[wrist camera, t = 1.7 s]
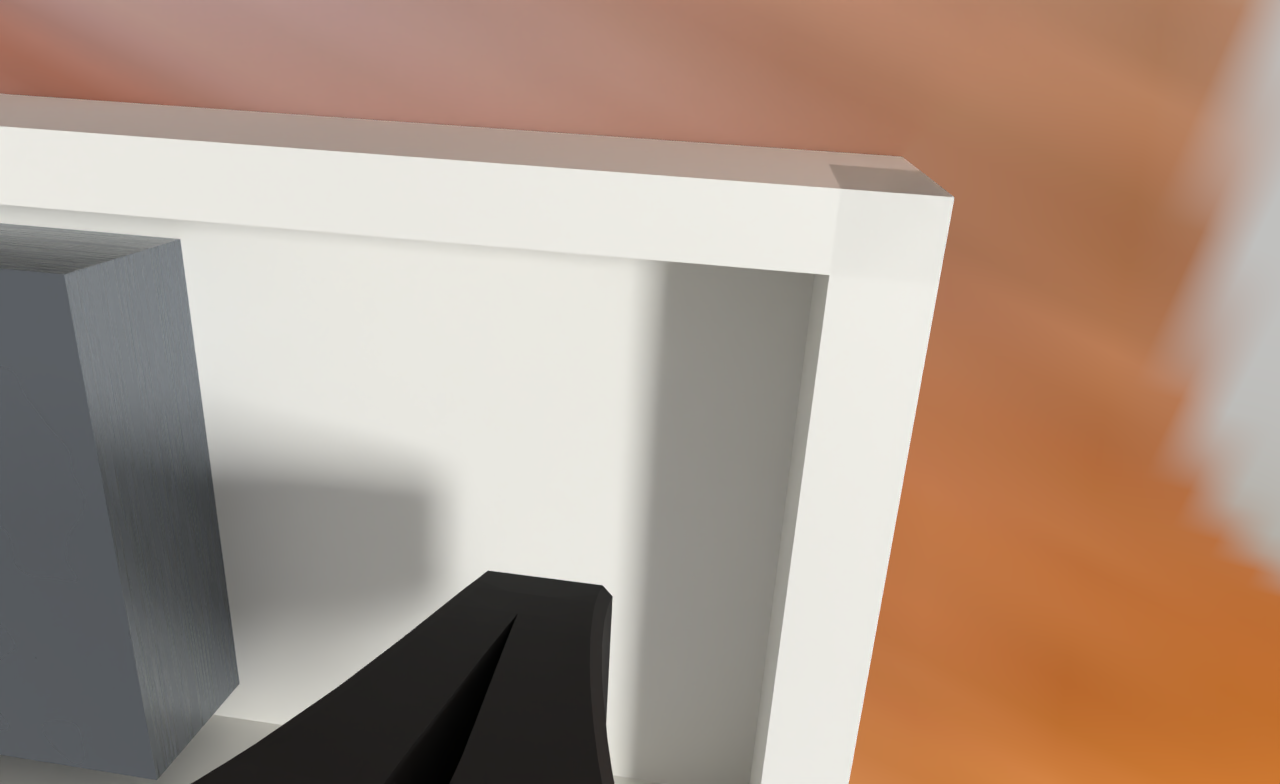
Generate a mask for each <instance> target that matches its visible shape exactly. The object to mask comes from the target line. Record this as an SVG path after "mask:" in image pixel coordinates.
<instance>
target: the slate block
mask: <svg viewBox="0 0 1280 784" xmlns="http://www.w3.org/2000/svg"><path fill="white" fill-rule="evenodd" d="M239 684H240V683H239V675H238V668H237V660H236V653H235V645H234V638H233V630H232V623H231V615H230V608H229V600H228V593H227V585H226V578H225V570H224V563H223V555H222V548H221V540H220V533H219V525H218V518H217V510H216V503H215V495H214V488H213V480H212V473H211V465H210V458H209V450H208V443H207V435H206V428H205V420H204V413H203V405H202V398H201V391H200V383H199V376H198V368H197V361H196V353H195V346H194V338H193V331H192V323H191V316H190V308H189V301H188V293H187V286H186V278H185V271H184V263H183V256H182V248H181V241H180V239H174V238H163V237H151V236H140V235H129V234H117V233H106V232H95V231H83V230H72V229H60V228H49V227H38V226H26V225H15V224H4V223H0V755H4V756H11V757H17V758H23V759H29V760H35V761H41V762H48V763H54V764H60V765H66V766H72V767H78V768H85V769H91V770H97V771H103V772H109V773H116V774H122V775H128V776H134V777H140V778H146V779H153V780H158V779H159V777H160V776H161V775H162V774H163V773H164V771H165V770H166V769H167V768H168V767H169V766H170V764H171V763H172V762H173V761H174V760H175V759H176V757H177V756H178V755H179V754H180V753H181V752H182V750H183V749H184V748H185V747H186V746H187V745H188V743H189V742H190V741H191V740H192V739H193V738H194V736H195V735H196V734H197V733H198V732H199V731H200V729H201V728H202V727H203V726H204V725H205V724H206V722H207V721H208V720H209V719H210V718H211V716H212V715H213V714H214V713H215V712H216V711H217V709H218V708H219V707H220V706H221V705H222V704H223V702H224V701H225V700H226V699H227V698H228V697H229V695H230V694H231V693H232V692H233V691H234V690H235V688H236V687H237V686H238V685H239Z"/></svg>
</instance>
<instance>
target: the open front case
mask: <svg viewBox="0 0 1280 784" xmlns="http://www.w3.org/2000/svg"><path fill="white" fill-rule="evenodd" d="M953 202H954V197H953V196H952V195H951V194H949V193H948V192H947V191H946V190H944V189H943V188H942V187H940V186H939V185H938V184H937V183H935V182H934V181H933V180H931V179H930V178H929V177H928V176H926V175H925V174H924V173H922V172H921V171H920V170H919V169H917V168H916V167H915V166H913V165H912V164H911V163H910V162H908V161H907V160H906V159H904V158H903V157H899V156H885V155H871V154H856V153H842V152H828V151H814V150H799V149H785V148H771V147H756V146H742V145H728V144H713V143H699V142H685V141H670V140H656V139H642V138H627V137H613V136H599V135H585V134H570V133H556V132H542V131H527V130H513V129H499V128H484V127H470V126H456V125H441V124H427V123H413V122H399V121H384V120H370V119H356V118H341V117H327V116H313V115H298V114H284V113H270V112H255V111H241V110H227V109H212V108H198V107H184V106H170V105H155V104H141V103H127V102H112V101H98V100H84V99H69V98H55V97H41V96H26V95H12V94H0V223H4V224H15V225H26V226H38V227H49V228H60V229H72V230H83V231H95V232H106V233H117V234H129V235H140V236H151V237H163V238H174V239H180V241H181V248H182V256H183V263H184V271H185V278H186V286H187V293H188V301H189V308H190V316H191V323H192V331H193V338H194V346H195V353H196V361H197V368H198V376H199V383H200V391H201V398H202V405H203V413H204V420H205V428H206V435H207V443H208V450H209V458H210V465H211V473H212V480H213V488H214V495H215V503H216V510H217V518H218V525H219V533H220V540H221V548H222V555H223V563H224V570H225V578H226V585H227V593H228V600H229V608H230V615H231V623H232V630H233V638H234V645H235V653H236V660H237V668H238V675H239V683H240V684H239V685H238V686H237V687H236V688H235V690H234V691H233V692H232V693H231V694H230V695H229V697H228V698H227V699H226V700H225V701H224V702H223V704H222V705H221V706H220V707H219V708H218V709H217V711H216V712H215V713H214V714H213V715H212V716H211V718H210V719H209V720H208V721H207V722H206V724H205V725H204V726H203V727H202V728H201V729H200V731H199V732H198V733H197V734H196V735H195V736H194V738H193V739H192V740H191V741H190V742H189V743H188V745H187V746H186V747H185V748H184V749H183V750H182V752H181V753H180V754H179V755H178V756H177V757H176V759H175V760H174V761H173V762H172V763H171V764H170V766H169V767H168V768H167V769H166V770H165V771H164V773H163V774H162V775H161V776H160V777H159V779H158V780H153V779H146V778H140V777H134V776H128V775H122V774H116V773H109V772H103V771H97V770H91V769H85V768H78V767H72V766H66V765H60V764H54V763H48V762H41V761H35V760H29V759H23V758H17V757H11V756H4V755H0V784H191V783H193V782H194V781H196V780H198V779H199V778H201V777H203V776H204V775H206V774H208V773H209V772H211V771H213V770H214V769H216V768H217V767H219V766H221V765H222V764H224V763H226V762H227V761H229V760H230V759H232V758H234V757H235V756H237V755H238V754H240V753H241V752H243V751H245V750H246V749H248V748H249V747H251V746H252V745H254V744H256V743H257V742H259V741H260V740H261V739H263V738H264V737H266V736H267V735H269V734H270V733H272V732H273V731H275V730H276V729H277V728H279V727H280V726H282V725H283V724H285V723H286V722H288V721H289V720H290V719H292V718H293V717H295V716H296V715H298V714H299V713H301V712H302V711H304V710H305V709H306V708H308V707H309V706H311V705H312V704H314V703H315V702H317V701H318V700H320V699H321V698H322V697H324V696H325V695H327V694H328V693H330V692H331V691H333V690H334V689H335V688H337V687H338V686H339V685H341V684H342V683H343V682H345V681H346V680H347V679H349V678H350V677H351V676H353V675H354V674H355V673H357V672H358V671H359V670H361V669H362V668H363V667H365V666H366V665H367V664H369V663H370V662H371V661H373V660H374V659H375V658H376V657H378V656H379V655H380V654H382V653H383V652H384V651H386V650H387V649H388V648H390V647H391V646H392V645H394V644H395V643H396V642H398V641H399V640H400V639H401V638H403V637H404V636H405V635H406V634H408V633H409V632H410V631H411V630H413V629H414V628H415V627H416V626H418V625H419V624H420V623H422V622H423V621H424V620H425V619H427V618H428V617H429V616H430V615H432V614H433V613H434V612H435V611H437V610H438V609H439V608H440V607H442V606H443V605H444V604H445V603H447V602H448V601H449V600H450V599H452V598H453V597H454V596H455V595H457V594H458V593H459V592H460V591H462V590H463V589H464V588H466V587H467V586H468V585H470V584H471V583H472V582H474V581H475V580H476V579H478V578H479V577H480V576H481V575H483V574H484V573H485V572H487V571H496V572H504V573H512V574H519V575H527V576H535V577H543V578H550V579H558V580H566V581H574V582H581V583H589V584H597V585H603V586H604V587H605V588H606V590H607V591H608V592H609V593H610V594H611V595H612V596H613V600H612V619H611V639H610V659H609V679H608V699H607V719H606V728H607V738H608V746H609V753H610V759H611V766H612V773H613V778H614V784H849V778H850V773H851V767H852V761H853V756H854V750H855V745H856V739H857V734H858V728H859V723H860V717H861V712H862V706H863V700H864V695H865V689H866V684H867V678H868V673H869V667H870V662H871V656H872V651H873V645H874V640H875V634H876V628H877V623H878V617H879V612H880V606H881V601H882V595H883V590H884V584H885V579H886V573H887V568H888V562H889V556H890V551H891V545H892V540H893V534H894V529H895V523H896V518H897V512H898V507H899V501H900V496H901V490H902V484H903V479H904V473H905V468H906V462H907V457H908V451H909V446H910V440H911V435H912V429H913V424H914V418H915V412H916V407H917V401H918V396H919V390H920V385H921V379H922V374H923V368H924V363H925V357H926V352H927V346H928V340H929V335H930V329H931V324H932V318H933V313H934V307H935V302H936V296H937V291H938V285H939V280H940V274H941V268H942V263H943V257H944V252H945V246H946V241H947V235H948V230H949V224H950V219H951V213H952V208H953Z"/></svg>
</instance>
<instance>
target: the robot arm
mask: <svg viewBox="0 0 1280 784" xmlns="http://www.w3.org/2000/svg"><path fill="white" fill-rule="evenodd" d="M612 600H613V596H612V595H611V594H610V593H609V592H608V591H607V590H606V588H605V587H604V586H603V585H597V584H589V583H581V582H574V581H566V580H558V579H550V578H543V577H535V576H527V575H519V574H512V573H504V572H496V571H487V572H485V573H484V574H483V575H481V576H480V577H479V578H478V579H476V580H475V581H474V582H472V583H471V584H470V585H468V586H467V587H466V588H464V589H463V590H462V591H460V592H459V593H458V594H457V595H455V596H454V597H453V598H452V599H450V600H449V601H448V602H447V603H445V604H444V605H443V606H442V607H440V608H439V609H438V610H437V611H435V612H434V613H433V614H432V615H430V616H429V617H428V618H427V619H425V620H424V621H423V622H422V623H420V624H419V625H418V626H416V627H415V628H414V629H413V630H411V631H410V632H409V633H408V634H406V635H405V636H404V637H403V638H401V639H400V640H399V641H398V642H396V643H395V644H394V645H392V646H391V647H390V648H388V649H387V650H386V651H384V652H383V653H382V654H380V655H379V656H378V657H376V658H375V659H374V660H373V661H371V662H370V663H369V664H367V665H366V666H365V667H363V668H362V669H361V670H359V671H358V672H357V673H355V674H354V675H353V676H351V677H350V678H349V679H347V680H346V681H345V682H343V683H342V684H341V685H339V686H338V687H337V688H335V689H334V690H333V691H331V692H330V693H328V694H327V695H325V696H324V697H322V698H321V699H320V700H318V701H317V702H315V703H314V704H312V705H311V706H309V707H308V708H306V709H305V710H304V711H302V712H301V713H299V714H298V715H296V716H295V717H293V718H292V719H290V720H289V721H288V722H286V723H285V724H283V725H282V726H280V727H279V728H277V729H276V730H275V731H273V732H272V733H270V734H269V735H267V736H266V737H264V738H263V739H261V740H260V741H259V742H257V743H256V744H254V745H252V746H251V747H249V748H248V749H246V750H245V751H243V752H241V753H240V754H238V755H237V756H235V757H234V758H232V759H230V760H229V761H227V762H226V763H224V764H222V765H221V766H219V767H217V768H216V769H214V770H213V771H211V772H209V773H208V774H206V775H204V776H203V777H201V778H199V779H198V780H196V781H194V782H193V783H191V784H614V778H613V773H612V766H611V759H610V753H609V746H608V738H607V728H606V719H607V699H608V679H609V659H610V639H611V619H612Z"/></svg>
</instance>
